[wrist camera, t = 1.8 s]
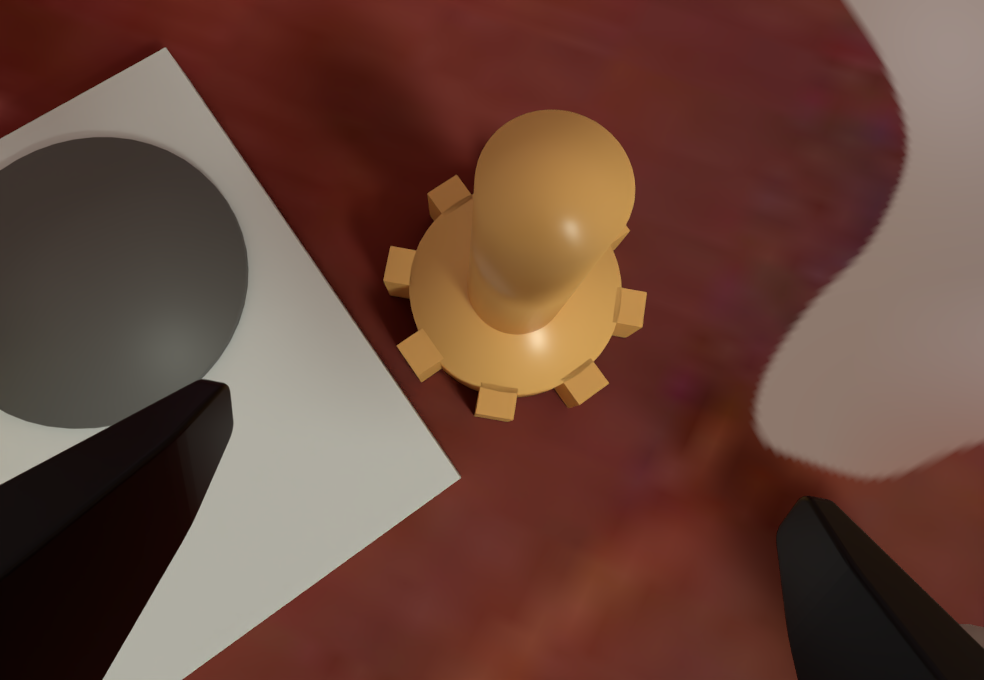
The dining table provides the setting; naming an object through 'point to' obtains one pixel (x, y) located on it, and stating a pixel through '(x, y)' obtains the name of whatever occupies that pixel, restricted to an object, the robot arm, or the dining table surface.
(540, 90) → the dining table surface
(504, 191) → the planet gear
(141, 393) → the carrier plate
